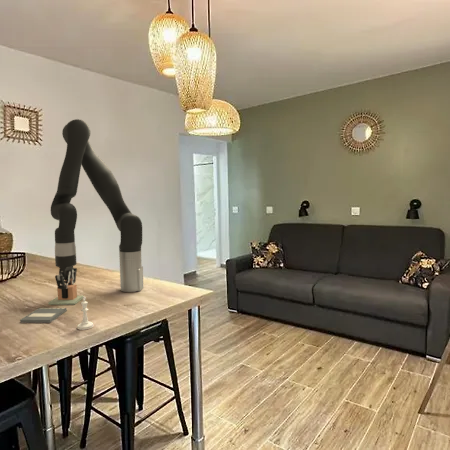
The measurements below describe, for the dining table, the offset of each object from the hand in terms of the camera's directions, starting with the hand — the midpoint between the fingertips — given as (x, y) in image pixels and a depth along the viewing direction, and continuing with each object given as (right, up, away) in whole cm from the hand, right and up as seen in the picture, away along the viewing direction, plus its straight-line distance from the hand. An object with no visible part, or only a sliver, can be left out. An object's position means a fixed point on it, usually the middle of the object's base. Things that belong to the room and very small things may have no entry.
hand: (67, 296), depth 139 cm
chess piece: (+18, -5, -26) cm, 32 cm away
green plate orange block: (0, -2, -1) cm, 2 cm away
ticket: (0, -3, -17) cm, 17 cm away
